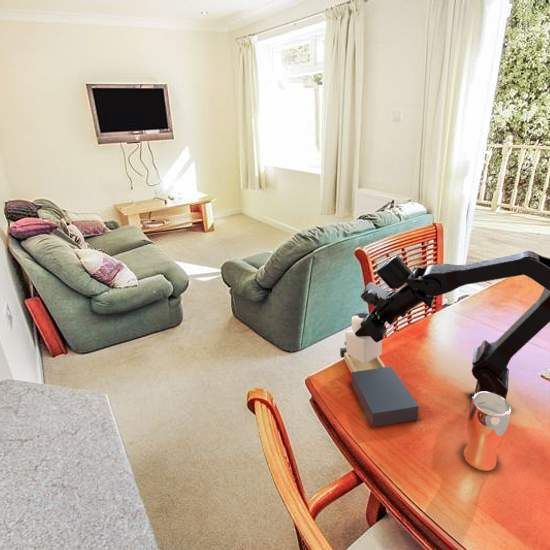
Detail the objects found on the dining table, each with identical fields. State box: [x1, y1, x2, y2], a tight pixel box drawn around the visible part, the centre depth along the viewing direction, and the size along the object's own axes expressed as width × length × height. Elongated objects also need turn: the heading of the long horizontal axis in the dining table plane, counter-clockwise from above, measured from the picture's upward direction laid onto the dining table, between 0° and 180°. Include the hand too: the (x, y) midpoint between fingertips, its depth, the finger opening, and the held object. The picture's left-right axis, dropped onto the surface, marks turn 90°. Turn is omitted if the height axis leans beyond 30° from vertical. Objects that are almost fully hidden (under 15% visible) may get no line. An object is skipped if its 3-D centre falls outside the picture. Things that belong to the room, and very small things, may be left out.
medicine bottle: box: [345, 312, 383, 363], centre depth 104 cm, size 7×7×12 cm
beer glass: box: [463, 392, 512, 472], centre depth 75 cm, size 7×7×15 cm
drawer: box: [339, 340, 386, 375], centre depth 108 cm, size 18×10×3 cm, turn 8°
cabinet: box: [350, 366, 420, 428], centre depth 94 cm, size 15×11×4 cm
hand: (359, 329), depth 103 cm, fingers closed on medicine bottle, 6 cm apart
